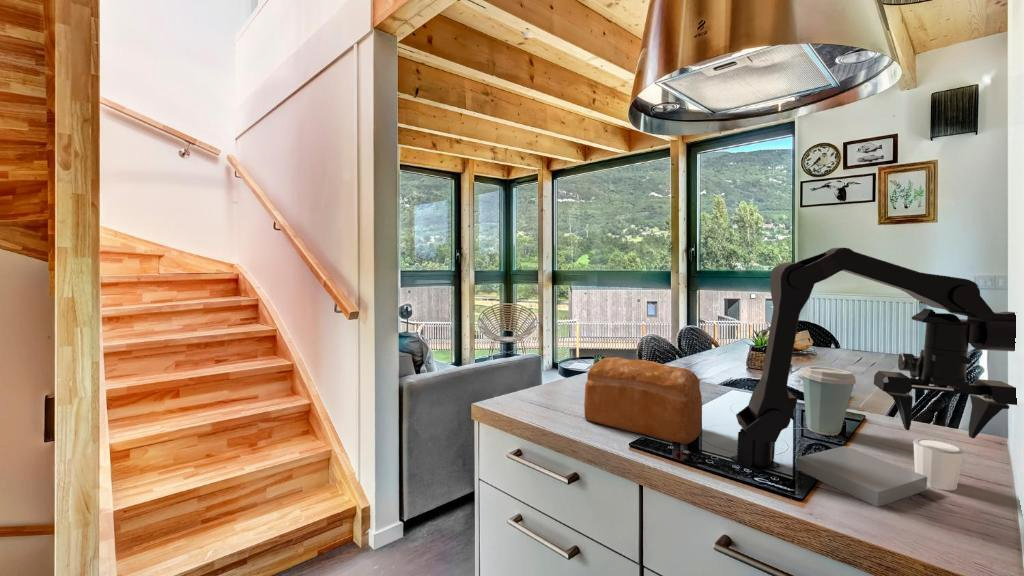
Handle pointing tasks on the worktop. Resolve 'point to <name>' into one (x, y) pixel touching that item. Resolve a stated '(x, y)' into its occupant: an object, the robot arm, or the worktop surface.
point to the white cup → (938, 462)
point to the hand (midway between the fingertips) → (938, 433)
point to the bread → (645, 398)
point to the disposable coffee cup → (826, 398)
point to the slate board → (862, 475)
